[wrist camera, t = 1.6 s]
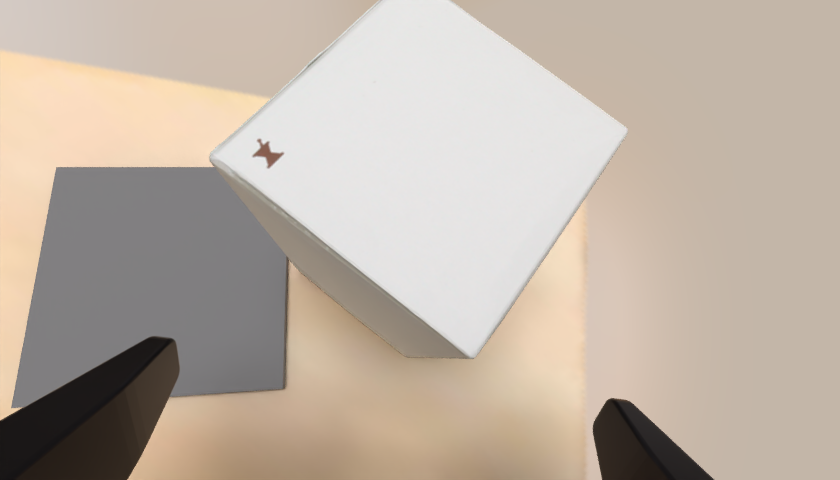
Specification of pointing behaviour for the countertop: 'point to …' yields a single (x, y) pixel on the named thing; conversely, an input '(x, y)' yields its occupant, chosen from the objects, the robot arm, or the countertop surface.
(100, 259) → the rubber mat
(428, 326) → the supplement box
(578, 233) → the countertop surface
